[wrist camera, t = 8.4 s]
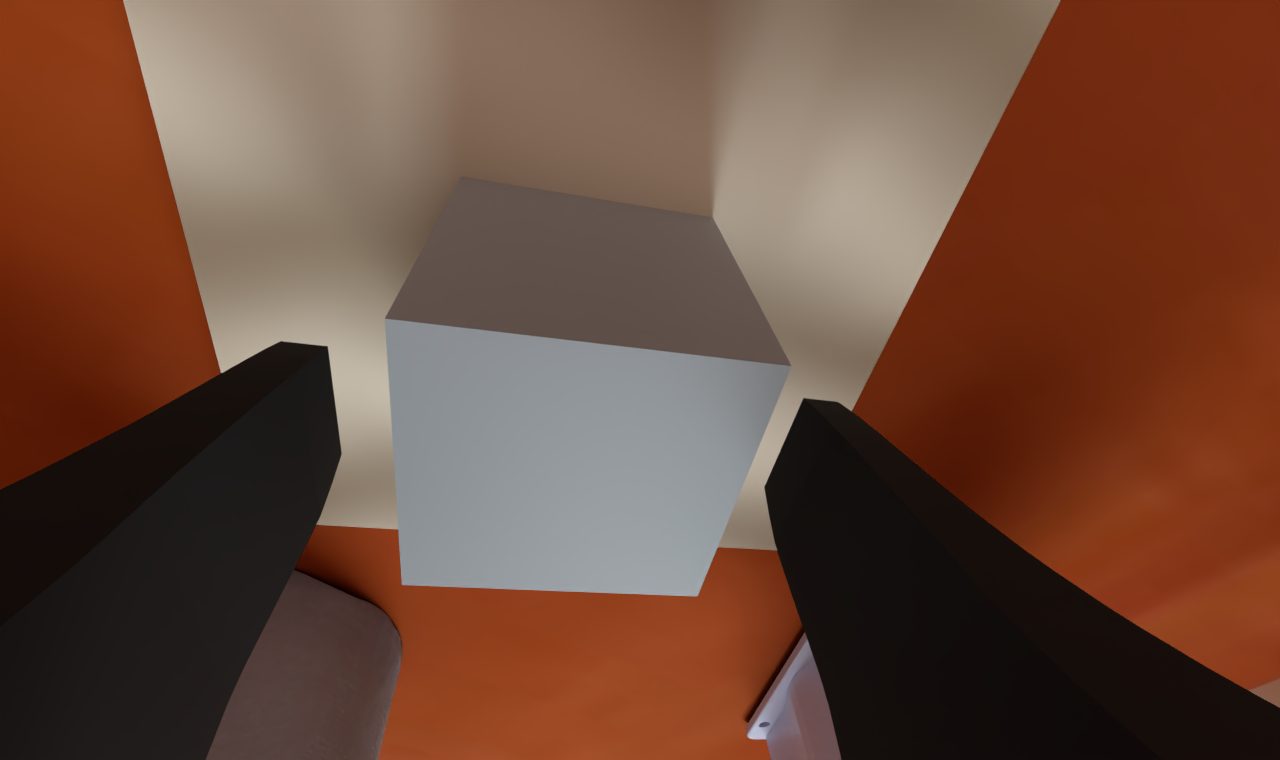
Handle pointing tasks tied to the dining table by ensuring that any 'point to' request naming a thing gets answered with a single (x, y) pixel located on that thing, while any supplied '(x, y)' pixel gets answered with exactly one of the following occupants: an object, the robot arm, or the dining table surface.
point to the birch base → (570, 163)
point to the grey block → (573, 394)
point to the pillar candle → (313, 680)
